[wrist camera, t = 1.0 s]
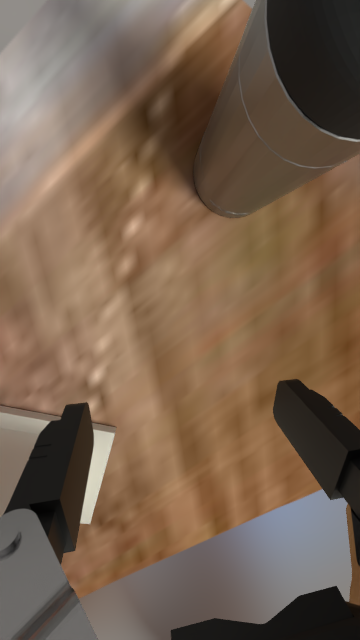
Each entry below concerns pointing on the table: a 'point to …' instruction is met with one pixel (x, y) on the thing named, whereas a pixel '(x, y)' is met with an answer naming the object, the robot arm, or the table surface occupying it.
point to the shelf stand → (18, 442)
